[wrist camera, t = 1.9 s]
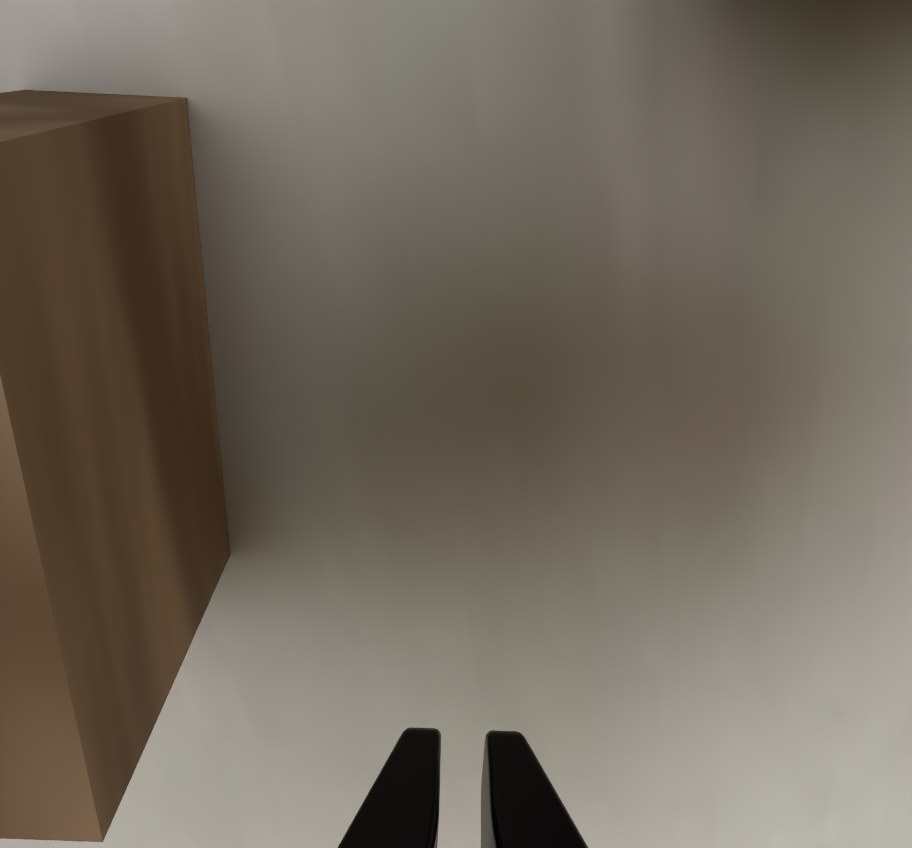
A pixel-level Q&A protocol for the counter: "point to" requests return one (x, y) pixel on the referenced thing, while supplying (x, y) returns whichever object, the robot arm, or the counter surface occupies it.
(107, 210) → the slab
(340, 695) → the counter surface
